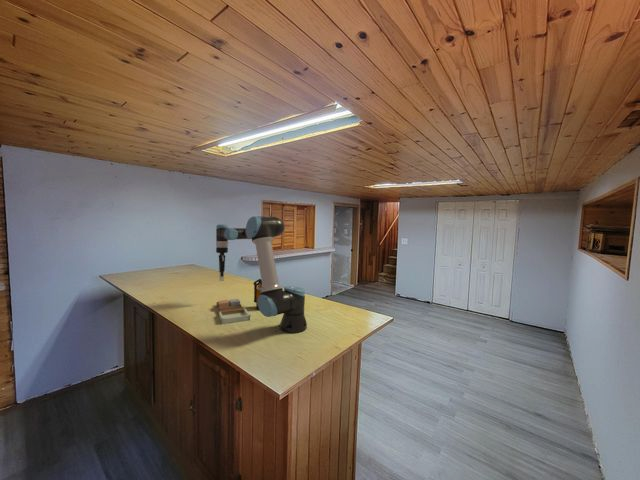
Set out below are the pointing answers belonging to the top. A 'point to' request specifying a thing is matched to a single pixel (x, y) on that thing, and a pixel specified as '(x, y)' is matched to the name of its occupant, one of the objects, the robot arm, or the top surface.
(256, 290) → the canister
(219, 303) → the tile
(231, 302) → the tile
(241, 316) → the tray
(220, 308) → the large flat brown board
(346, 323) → the top surface
